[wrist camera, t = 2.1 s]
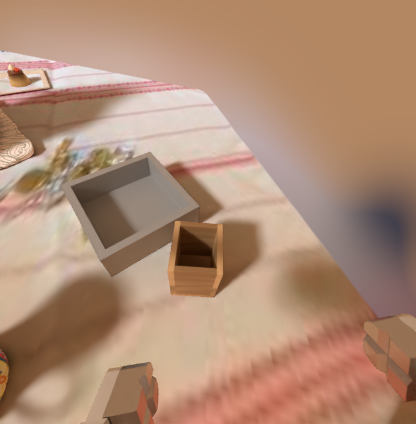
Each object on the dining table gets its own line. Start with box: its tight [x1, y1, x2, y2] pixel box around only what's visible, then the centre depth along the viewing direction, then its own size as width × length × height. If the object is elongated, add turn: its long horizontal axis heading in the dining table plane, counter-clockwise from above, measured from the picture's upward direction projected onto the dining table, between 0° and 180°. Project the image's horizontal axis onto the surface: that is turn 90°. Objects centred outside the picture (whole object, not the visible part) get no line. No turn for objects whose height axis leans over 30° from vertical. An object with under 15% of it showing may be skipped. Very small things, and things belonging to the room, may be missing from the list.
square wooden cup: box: [168, 221, 223, 297], centre depth 26 cm, size 6×6×8 cm
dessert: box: [0, 64, 50, 95], centre depth 54 cm, size 12×12×5 cm
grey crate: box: [61, 152, 200, 276], centre depth 32 cm, size 14×14×5 cm
